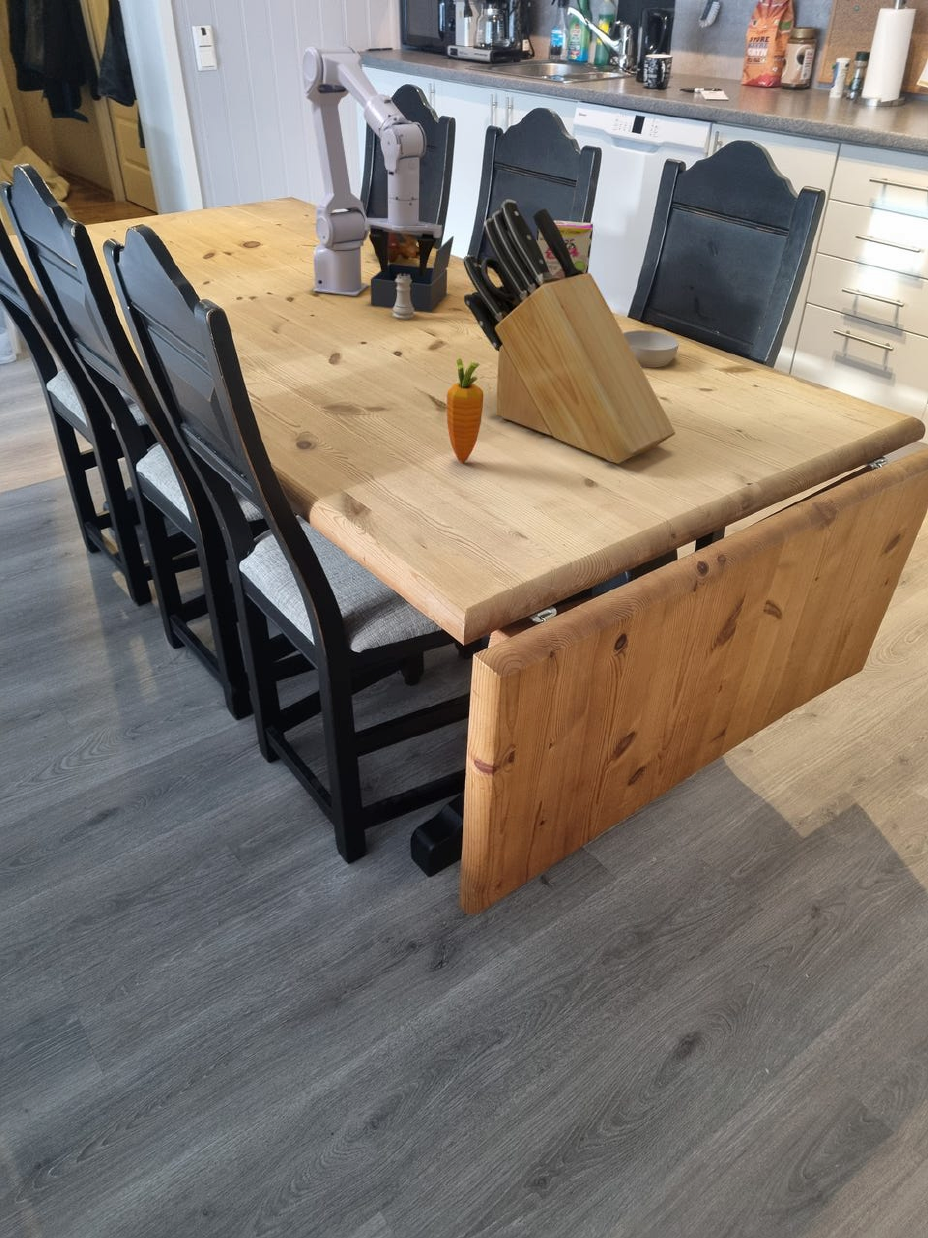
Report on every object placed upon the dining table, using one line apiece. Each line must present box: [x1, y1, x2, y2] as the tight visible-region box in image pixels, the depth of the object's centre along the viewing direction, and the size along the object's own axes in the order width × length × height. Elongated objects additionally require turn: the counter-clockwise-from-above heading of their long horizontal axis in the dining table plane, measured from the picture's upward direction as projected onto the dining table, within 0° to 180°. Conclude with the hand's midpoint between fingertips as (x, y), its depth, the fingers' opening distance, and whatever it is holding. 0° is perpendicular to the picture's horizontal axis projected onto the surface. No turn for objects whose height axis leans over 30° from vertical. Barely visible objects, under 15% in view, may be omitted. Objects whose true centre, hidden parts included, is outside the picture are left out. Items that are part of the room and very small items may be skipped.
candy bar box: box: [535, 219, 594, 279], centre depth 189 cm, size 11×5×16 cm, turn 84°
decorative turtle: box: [369, 231, 419, 264], centre depth 216 cm, size 10×15×8 cm, turn 54°
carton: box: [370, 262, 448, 313], centre depth 192 cm, size 13×13×5 cm
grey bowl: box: [623, 329, 680, 368], centre depth 169 cm, size 11×18×4 cm, turn 65°
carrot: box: [446, 357, 484, 464], centre depth 127 cm, size 5×5×15 cm
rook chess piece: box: [391, 274, 416, 321], centre depth 182 cm, size 4×4×8 cm
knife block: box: [462, 199, 676, 464], centre depth 135 cm, size 11×35×31 cm, turn 45°
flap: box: [431, 235, 455, 282], centre depth 187 cm, size 6×12×1 cm
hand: (403, 272), depth 179 cm, fingers open, 7 cm apart
